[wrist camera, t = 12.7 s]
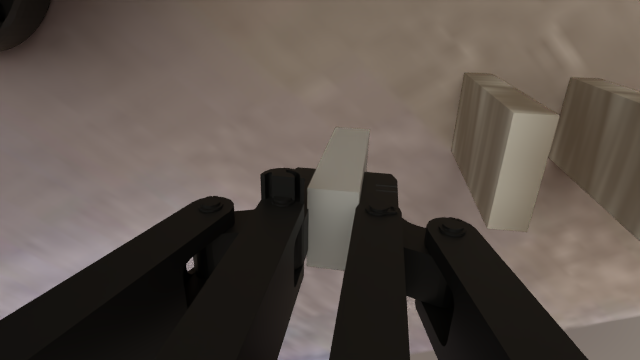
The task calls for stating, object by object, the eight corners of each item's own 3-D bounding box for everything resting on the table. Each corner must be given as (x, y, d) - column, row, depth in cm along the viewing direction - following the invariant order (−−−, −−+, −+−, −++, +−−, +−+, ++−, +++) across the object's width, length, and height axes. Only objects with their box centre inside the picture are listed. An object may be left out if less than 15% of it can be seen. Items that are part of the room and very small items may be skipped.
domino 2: (548, 157, 25) (641, 242, 16) (570, 77, 23) (692, 122, 14) (575, 159, 24) (685, 247, 15) (600, 78, 22) (744, 125, 13)
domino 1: (451, 150, 25) (487, 228, 16) (464, 72, 23) (513, 112, 14) (476, 152, 25) (527, 232, 16) (492, 74, 23) (559, 115, 14)
